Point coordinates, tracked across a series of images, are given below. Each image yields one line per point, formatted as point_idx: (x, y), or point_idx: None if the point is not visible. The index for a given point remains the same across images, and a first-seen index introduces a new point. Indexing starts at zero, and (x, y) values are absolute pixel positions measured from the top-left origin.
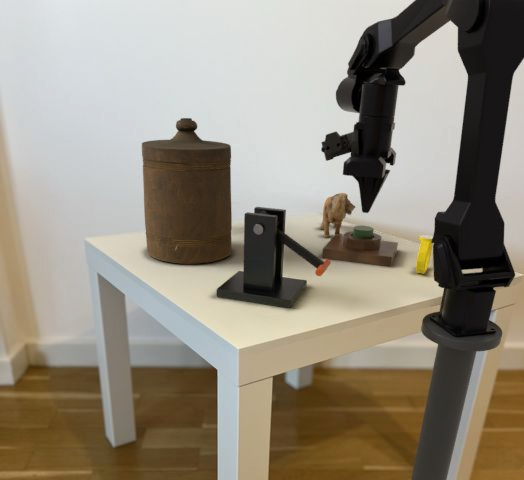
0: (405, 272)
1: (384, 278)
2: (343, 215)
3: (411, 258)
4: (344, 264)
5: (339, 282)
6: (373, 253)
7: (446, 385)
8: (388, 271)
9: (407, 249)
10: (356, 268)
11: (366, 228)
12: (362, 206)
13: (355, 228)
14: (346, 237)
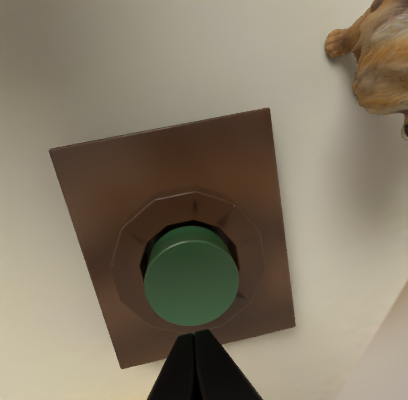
0: (106, 387)
1: (16, 368)
2: (368, 111)
3: (239, 357)
4: (54, 237)
5: None
6: (119, 316)
7: None
8: (83, 355)
9: (320, 322)
10: (43, 281)
11: (190, 299)
12: (161, 373)
13: (158, 260)
14: (125, 223)
